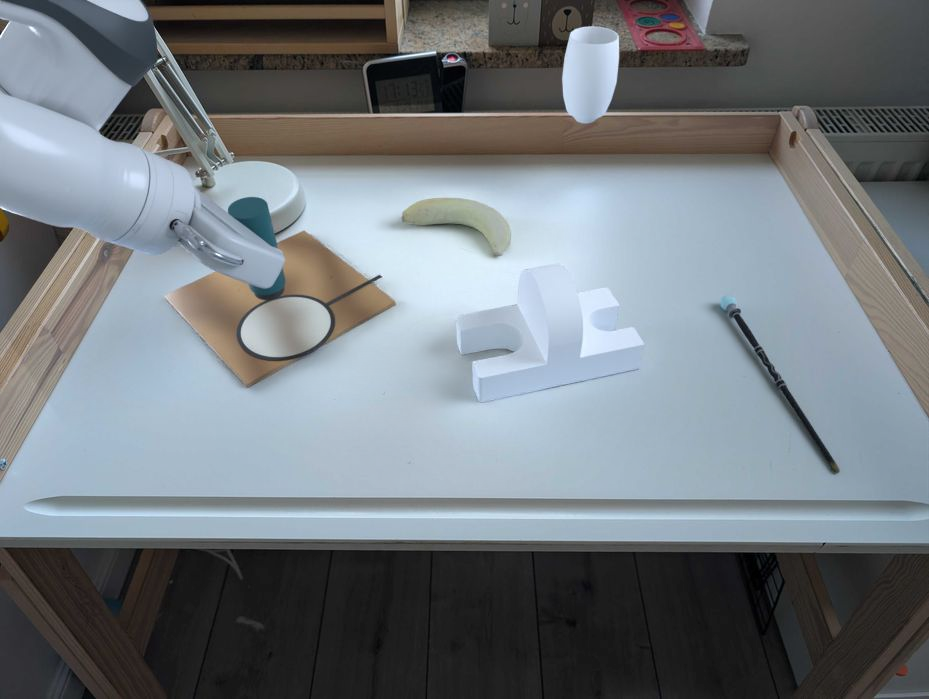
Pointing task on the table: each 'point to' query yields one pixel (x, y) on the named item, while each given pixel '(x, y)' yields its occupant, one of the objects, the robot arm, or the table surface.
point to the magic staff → (774, 374)
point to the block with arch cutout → (547, 337)
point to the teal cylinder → (259, 222)
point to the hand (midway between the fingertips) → (262, 245)
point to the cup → (590, 72)
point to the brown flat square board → (280, 310)
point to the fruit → (462, 218)
